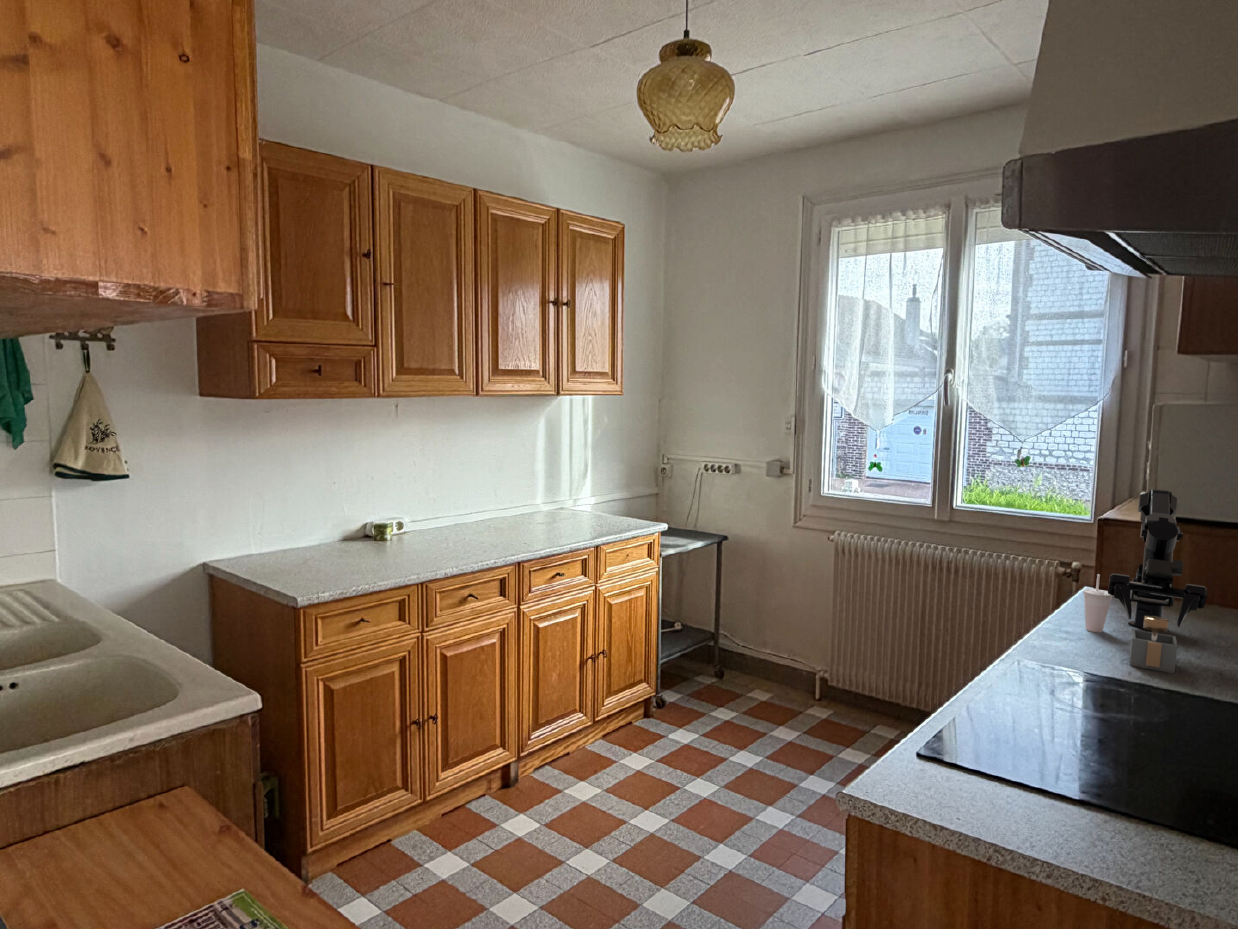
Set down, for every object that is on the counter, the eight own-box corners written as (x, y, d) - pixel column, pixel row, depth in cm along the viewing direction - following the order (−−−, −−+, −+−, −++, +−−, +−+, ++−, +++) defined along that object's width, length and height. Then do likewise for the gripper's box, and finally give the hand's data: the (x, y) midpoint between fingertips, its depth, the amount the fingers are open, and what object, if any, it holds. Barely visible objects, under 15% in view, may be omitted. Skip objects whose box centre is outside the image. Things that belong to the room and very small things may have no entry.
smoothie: (1101, 626, 201) (1107, 572, 200) (1114, 635, 195) (1120, 578, 194) (1074, 625, 202) (1080, 570, 200) (1086, 633, 196) (1092, 577, 194)
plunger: (1134, 652, 179) (1139, 612, 178) (1168, 658, 176) (1172, 618, 175) (1135, 660, 174) (1139, 619, 173) (1169, 666, 171) (1174, 625, 170)
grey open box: (1129, 655, 181) (1132, 629, 180) (1172, 662, 176) (1175, 636, 176) (1129, 666, 173) (1132, 639, 172) (1174, 675, 169) (1177, 647, 168)
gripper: (1113, 539, 188) (1108, 595, 180) (1211, 551, 178) (1210, 611, 170) (1110, 566, 196) (1104, 621, 188) (1204, 578, 186) (1202, 637, 178)
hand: (1154, 622), depth 181 cm, fingers open, 9 cm apart
